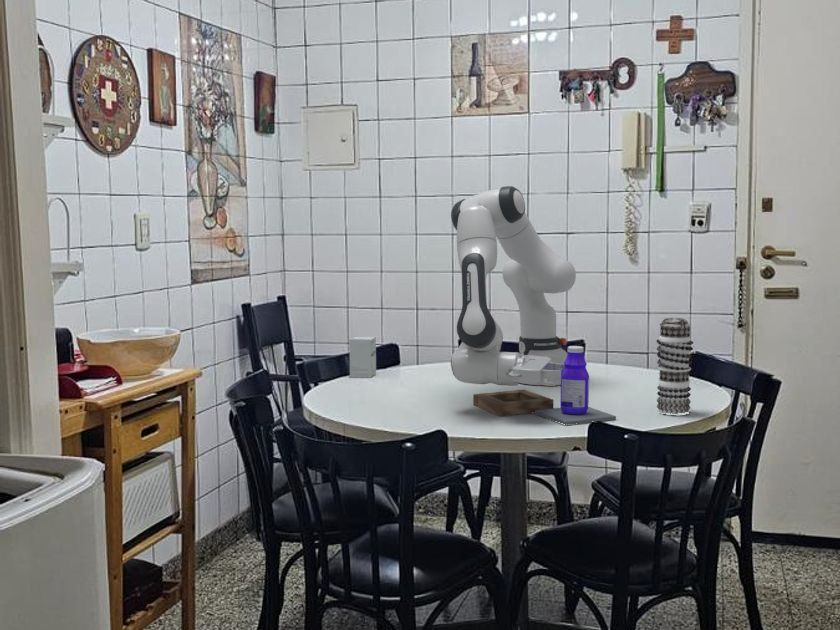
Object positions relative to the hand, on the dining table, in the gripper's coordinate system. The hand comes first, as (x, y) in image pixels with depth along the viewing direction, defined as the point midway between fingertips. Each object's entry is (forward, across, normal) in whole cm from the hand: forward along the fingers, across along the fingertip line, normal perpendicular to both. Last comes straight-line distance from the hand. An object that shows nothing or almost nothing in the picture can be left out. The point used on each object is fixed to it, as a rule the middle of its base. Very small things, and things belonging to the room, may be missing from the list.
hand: (564, 370), depth 245 cm
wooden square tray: (-15, +7, +12) cm, 20 cm away
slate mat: (+3, 0, +12) cm, 12 cm away
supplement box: (-72, +44, +12) cm, 85 cm away
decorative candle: (+27, +11, +12) cm, 32 cm away
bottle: (+3, 0, +11) cm, 12 cm away
